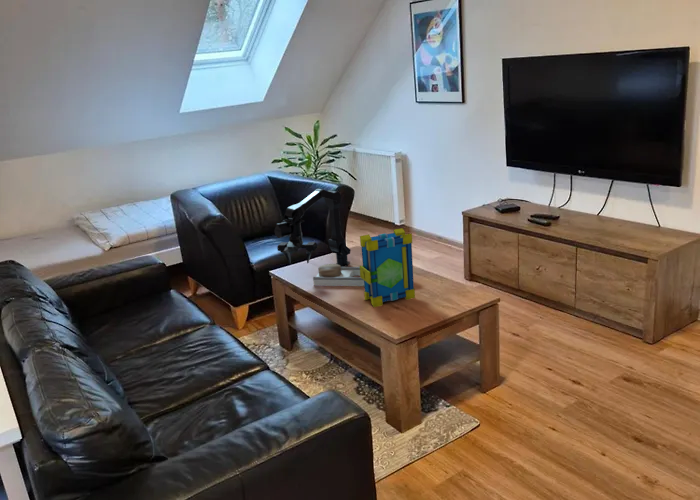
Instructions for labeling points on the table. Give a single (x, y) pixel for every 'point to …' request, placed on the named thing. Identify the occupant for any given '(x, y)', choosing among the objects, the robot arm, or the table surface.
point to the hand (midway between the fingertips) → (299, 263)
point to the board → (341, 278)
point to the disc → (330, 270)
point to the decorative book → (387, 267)
